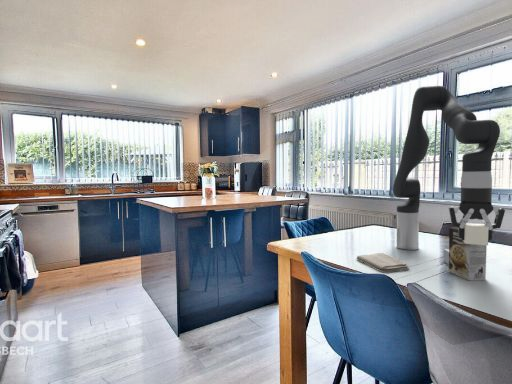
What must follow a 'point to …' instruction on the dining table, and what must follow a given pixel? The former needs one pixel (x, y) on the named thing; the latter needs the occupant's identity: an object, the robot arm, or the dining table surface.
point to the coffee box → (466, 257)
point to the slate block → (446, 256)
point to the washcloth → (383, 262)
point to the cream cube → (476, 234)
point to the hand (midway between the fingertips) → (474, 240)
